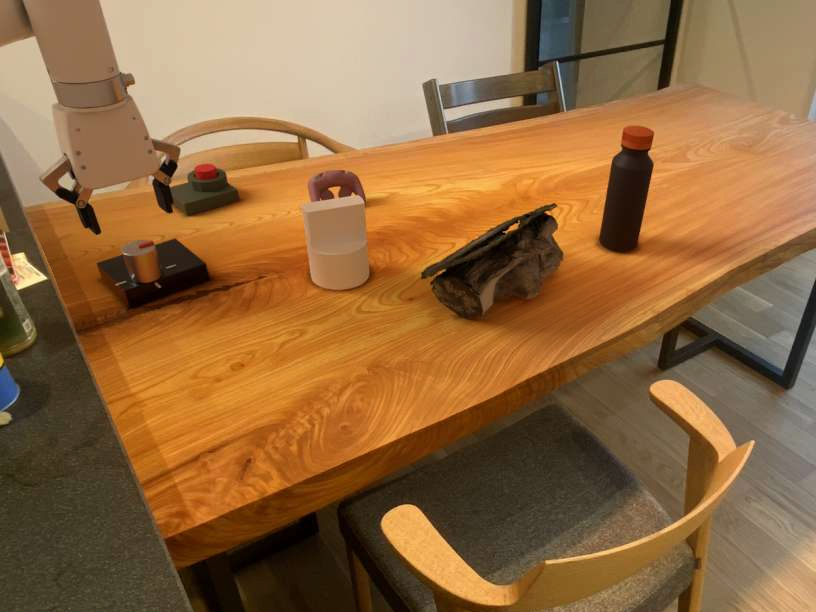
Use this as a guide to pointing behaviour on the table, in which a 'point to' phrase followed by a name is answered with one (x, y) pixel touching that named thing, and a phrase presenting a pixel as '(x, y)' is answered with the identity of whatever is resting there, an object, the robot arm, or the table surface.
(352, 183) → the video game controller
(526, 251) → the driftwood chunk
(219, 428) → the table surface
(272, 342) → the table surface
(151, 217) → the table surface
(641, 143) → the bottle
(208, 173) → the button
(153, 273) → the dial
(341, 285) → the cylinder with rectangular tab
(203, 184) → the button box
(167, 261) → the panel
